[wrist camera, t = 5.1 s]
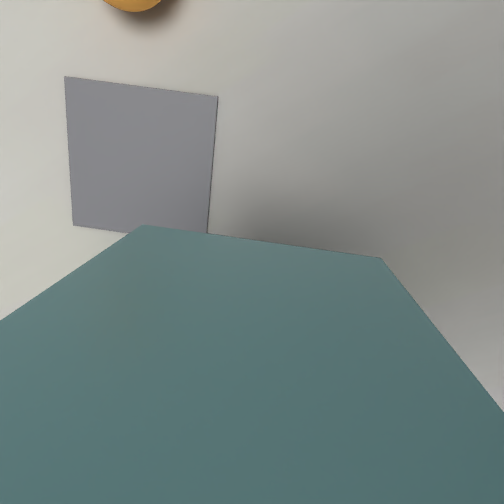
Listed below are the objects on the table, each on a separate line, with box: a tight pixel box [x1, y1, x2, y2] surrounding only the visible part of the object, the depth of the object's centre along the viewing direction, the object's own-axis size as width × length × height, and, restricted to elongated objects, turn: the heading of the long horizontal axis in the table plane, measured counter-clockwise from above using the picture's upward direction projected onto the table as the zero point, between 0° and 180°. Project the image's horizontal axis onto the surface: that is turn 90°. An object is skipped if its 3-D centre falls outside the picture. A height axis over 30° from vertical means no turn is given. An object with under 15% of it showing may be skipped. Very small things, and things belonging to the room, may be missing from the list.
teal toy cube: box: [0, 224, 504, 504], centre depth 8 cm, size 8×8×9 cm
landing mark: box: [64, 76, 218, 233], centre depth 23 cm, size 10×10×1 cm
